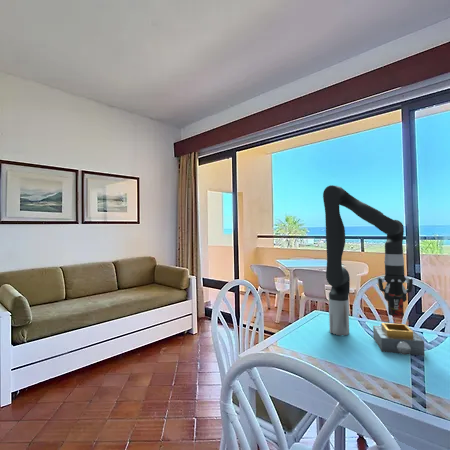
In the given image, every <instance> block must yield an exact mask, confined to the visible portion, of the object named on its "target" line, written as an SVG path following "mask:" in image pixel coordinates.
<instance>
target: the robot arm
mask: <svg viewBox="0 0 450 450" xmlns="http://www.w3.org/2000/svg"><path fill="white" fill-rule="evenodd" d="M322 198H323V206H324V213H325V214H324V215H325V244H326V245H325V246H326V270H325V271H326V272H325V277H326V278H325V279H326V282H327V283H328V284H329V285H330V286H331V288H330V291H329V293H328V302H329V303H328V309H329V311H328V315H329V317H328V318H329V319H328V320H329V321H328V323H329V324H328V325H329V333H330V334H331V333H333V334H332V335H335V334H336V336H342V335H343V336H348V335H349V334H350V317H349V315H350V314H349V313H350V311H349V309H350V308H349V306H350V305H349V297H350V296H349V295H350V291H351V290H350V289H351V287H350V285H351V283H350V282H351V281H350V280H351V279H350V274H349V273H350V272H348V270H347V269H346V267H344V266H343V264H342V262H343V260H342V259H343V258H342V257H343V254H344V249H345V246H346V230H345V229H346V228H345V225H344V222H343V219H342V217H341V212H340V206H342V207H345V208H346V209H348V210H350V211H351V212H352V213H354V214H355V215H356V216H357V217H359V218H361V219H362V221H365V222H367V223H368V224H370V225H372V226H374V227H375V228H376V229H378V230H379V231H380V232H382V233H384V234H385V235H386V241H385V243H384V277H377V283H378V288H379V289H378V290H379V291H380V292H383V294H384V295H383V297H384V300H385V301H386V302H388V301H389V293H388V291H389V289H390V283H389V282H403V284H402V289H403V303H406V301H407V295H408V293H411V292H412V289H413V283H414V279H412V278H411V277H409V278H407V277H405V258H404V246H403V242H404V235H405V234H404V232H405V231H404V225H403V222H402V221H400V220H398V219H393V218H390V216H387V215H385V214H384V213H383V212H381V210H378V209H376V208H374V207H373V206H371V205H369V204H367V203H366V202H363V201H362V200H359V199H358V198H356V197H355V196H353V195H351V194H350V193H349V192H348V191H346V190H345V189H344V188H343V187H342V186H338V185H331V184H330V185H327V186H326V187H325V188H324V190H323V192H322ZM384 281H385V282H386V284H385V287H384V285H383V283H384ZM405 282H406V283H407V284H406V285H407V286H406V288H405V286H404V283H405ZM387 283H389V285H388V286H387Z"/></svg>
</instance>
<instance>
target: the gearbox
mask: <svg viewBox="0 0 450 450" xmlns="http://www.w3.org/2000/svg"><path fill="white" fill-rule="evenodd" d="M372 326H373V327H372V330H373V331H372V332H373V333H372V334H373V340H374V341H375V343H376V345H377V346H378V348H379V350H380V351H381V353H390V354H392V353H393V354H400V355H414V356H421V357H422V356H423V357H424V356H425V341H424V339H423V338H422V337H420V336H419V334H417V332H416V331H414V330H413V328H411V327H409V326H408V325H407V324H405V323H393V322H392V323H390V322H381V324H380V325H372Z"/></svg>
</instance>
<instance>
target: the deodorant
mask: <svg viewBox="0 0 450 450" xmlns="http://www.w3.org/2000/svg"><path fill="white" fill-rule="evenodd" d="M389 283H390V289H389V291H388V293H389V301H387V307H388V308H387V310H388V312H387V313H388V315H389V316H391V317H392V316H393V317H397V318H398V317H399V318H400V317H404V314H405V313H404V302H403V289H402V284H403V285H404V283H403V282H389ZM389 283H387V282H386V284H387V286H388V285H389Z"/></svg>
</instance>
